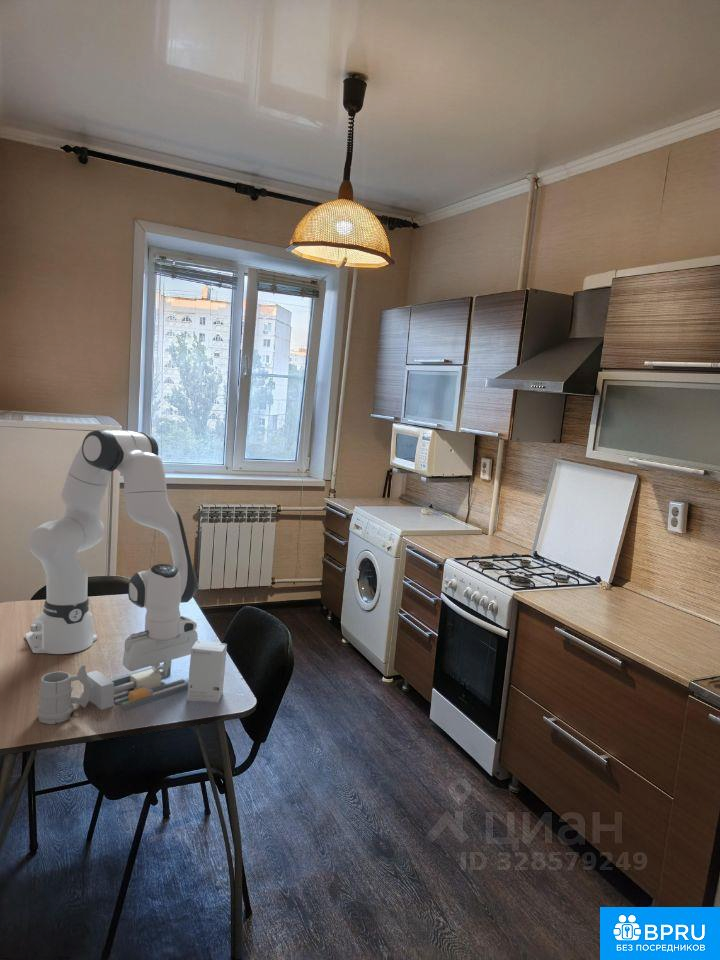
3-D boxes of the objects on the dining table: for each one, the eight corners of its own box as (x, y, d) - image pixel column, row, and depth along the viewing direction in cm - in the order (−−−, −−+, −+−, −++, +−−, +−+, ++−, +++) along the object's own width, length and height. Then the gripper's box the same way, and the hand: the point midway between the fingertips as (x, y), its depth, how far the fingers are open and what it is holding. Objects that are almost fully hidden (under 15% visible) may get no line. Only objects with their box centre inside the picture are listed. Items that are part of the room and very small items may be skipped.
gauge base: (77, 695, 159) (77, 668, 158) (169, 668, 179) (170, 644, 178) (109, 721, 148) (109, 692, 147) (203, 689, 167) (204, 663, 166)
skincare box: (186, 705, 159) (188, 648, 157) (192, 694, 165) (194, 639, 163) (219, 707, 159) (222, 650, 157) (224, 696, 165) (227, 641, 163)
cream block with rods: (107, 692, 159) (107, 681, 158) (151, 679, 168) (151, 669, 167) (126, 706, 153) (126, 695, 152) (170, 692, 161) (170, 681, 161)
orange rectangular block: (128, 700, 156) (128, 691, 156) (143, 696, 159) (143, 687, 158) (133, 704, 154) (134, 695, 154) (148, 699, 157) (149, 690, 157)
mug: (35, 712, 150) (36, 664, 148) (89, 703, 156) (90, 657, 154) (38, 727, 143) (38, 677, 142) (94, 717, 149) (95, 669, 148)
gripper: (131, 639, 156) (129, 692, 157) (202, 622, 171) (199, 670, 172) (119, 632, 160) (117, 683, 161) (188, 615, 175) (186, 663, 177)
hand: (160, 676), depth 167 cm, fingers closed
